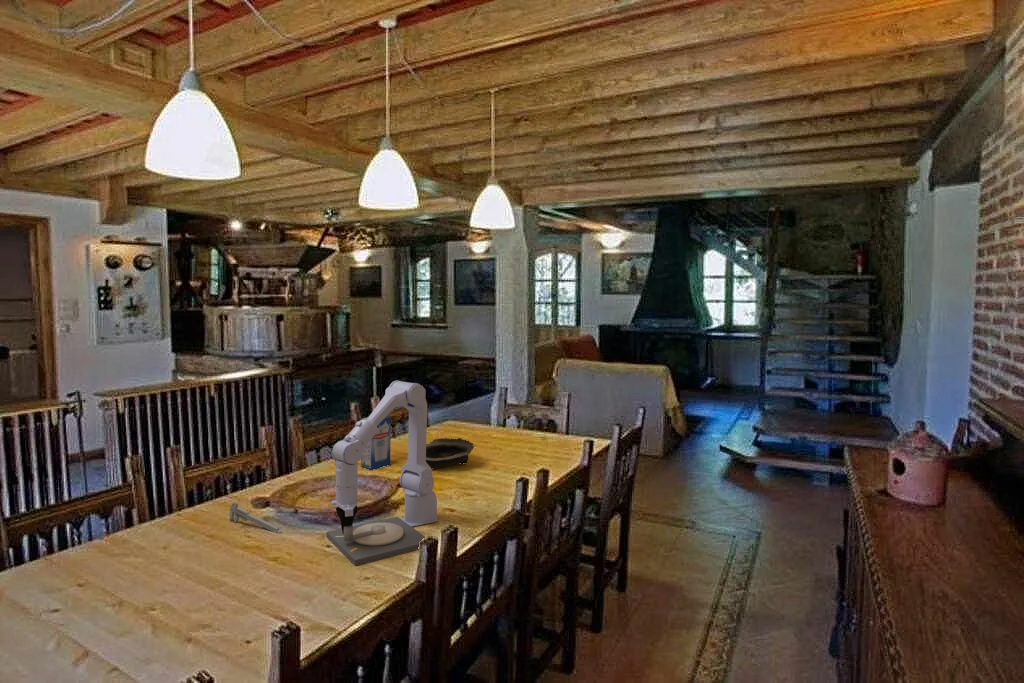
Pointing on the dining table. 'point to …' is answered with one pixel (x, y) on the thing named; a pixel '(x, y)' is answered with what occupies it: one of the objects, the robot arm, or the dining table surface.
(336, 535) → the dial plate
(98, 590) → the dining table surface
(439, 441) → the stone bowl
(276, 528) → the caliper
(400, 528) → the dial
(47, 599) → the dining table surface
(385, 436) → the milk carton
